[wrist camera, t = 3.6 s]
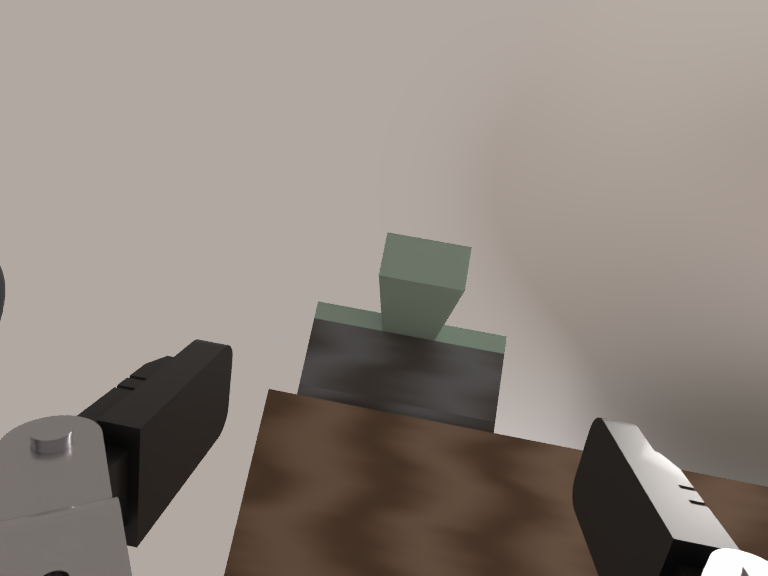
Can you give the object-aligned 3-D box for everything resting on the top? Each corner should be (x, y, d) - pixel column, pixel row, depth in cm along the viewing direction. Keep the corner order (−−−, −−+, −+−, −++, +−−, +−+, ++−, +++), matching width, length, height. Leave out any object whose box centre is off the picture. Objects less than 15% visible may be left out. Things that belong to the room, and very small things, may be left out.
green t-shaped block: (260, 282, 18) (277, 213, 19) (331, 356, 40) (338, 324, 41) (578, 341, 17) (585, 267, 18) (471, 383, 40) (476, 350, 40)
